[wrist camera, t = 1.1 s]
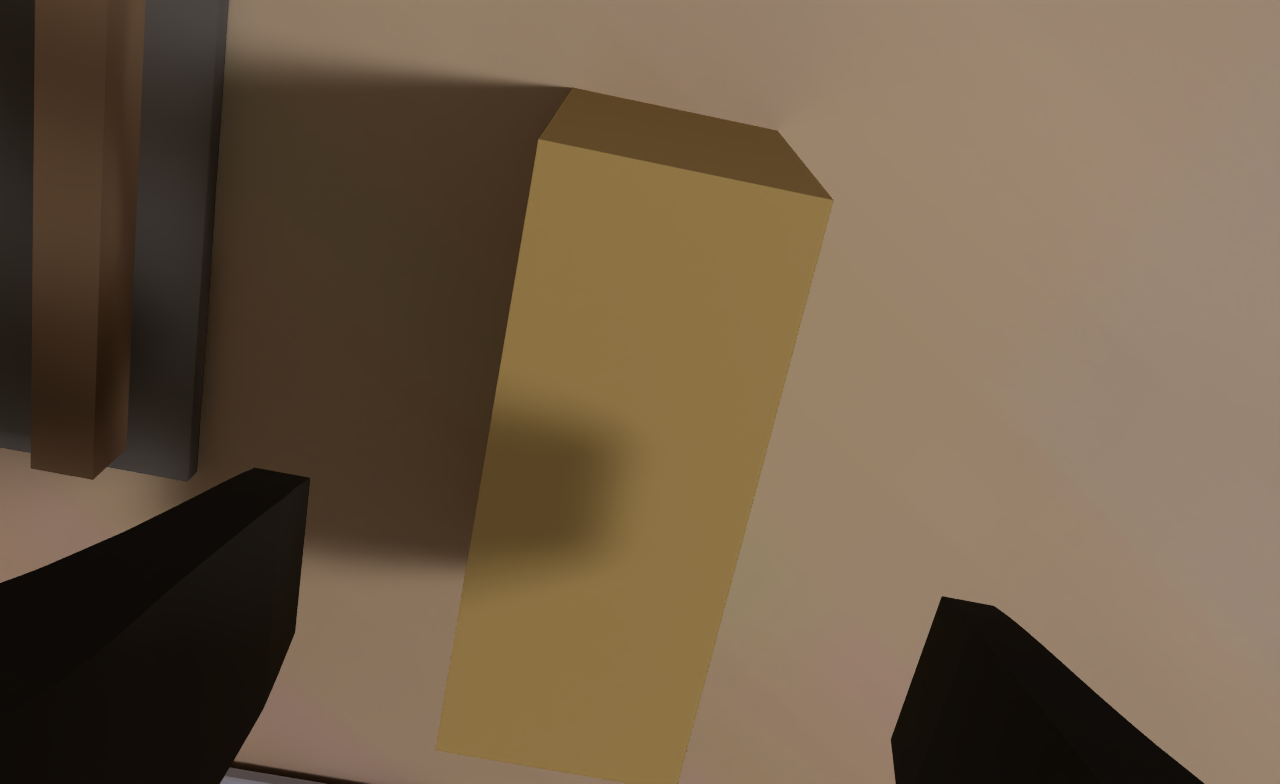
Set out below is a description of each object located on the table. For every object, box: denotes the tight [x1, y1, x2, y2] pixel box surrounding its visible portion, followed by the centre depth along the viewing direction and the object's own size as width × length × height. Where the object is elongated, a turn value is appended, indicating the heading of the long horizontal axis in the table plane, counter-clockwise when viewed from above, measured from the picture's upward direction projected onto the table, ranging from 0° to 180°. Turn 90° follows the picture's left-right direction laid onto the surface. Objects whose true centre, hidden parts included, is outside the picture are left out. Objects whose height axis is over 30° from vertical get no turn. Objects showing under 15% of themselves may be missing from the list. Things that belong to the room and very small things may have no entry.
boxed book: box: [436, 88, 833, 784], centre depth 20 cm, size 10×4×7 cm, turn 169°
